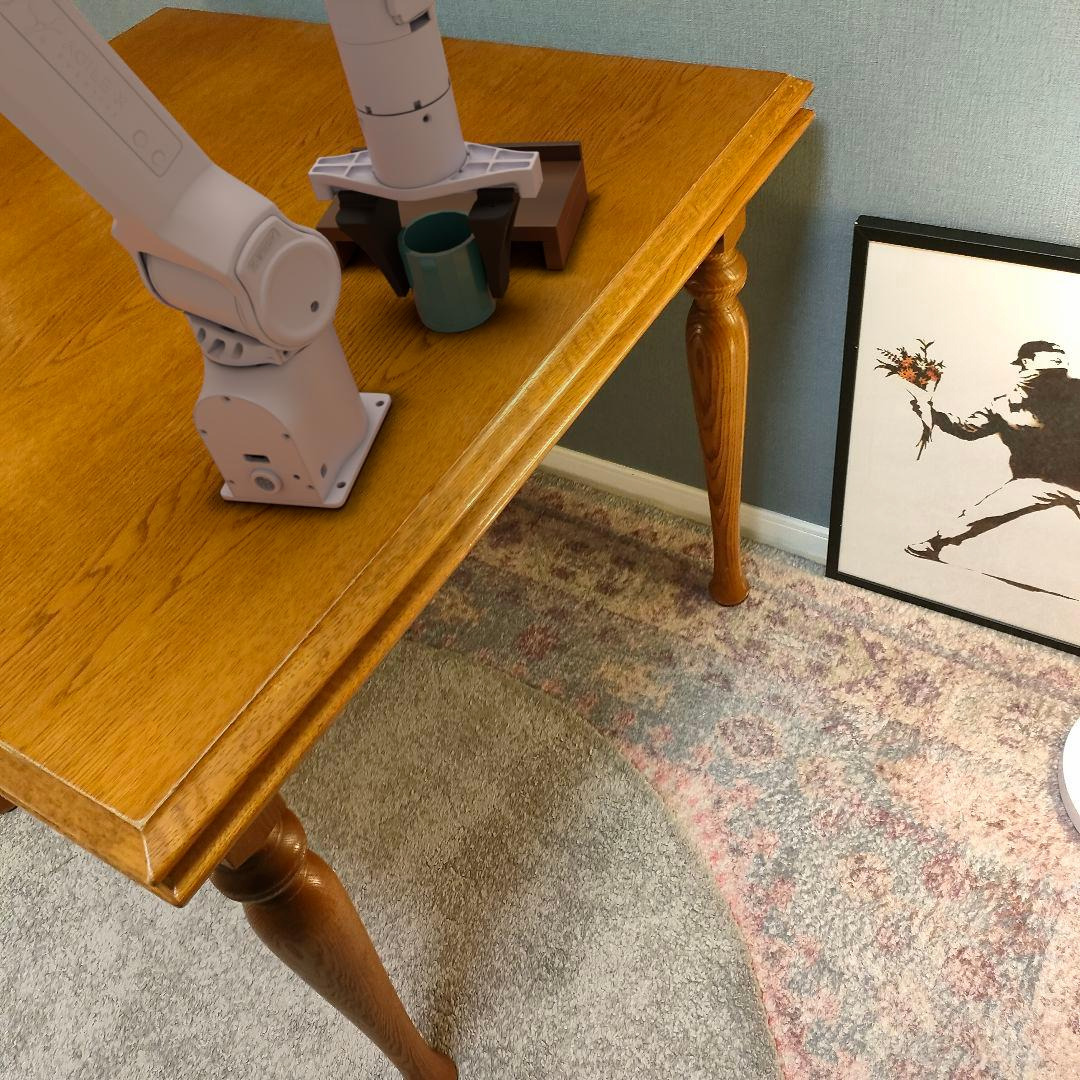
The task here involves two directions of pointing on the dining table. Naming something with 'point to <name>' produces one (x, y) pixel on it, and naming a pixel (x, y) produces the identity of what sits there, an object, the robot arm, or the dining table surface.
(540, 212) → the shelf
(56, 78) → the robot arm
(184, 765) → the dining table surface
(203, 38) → the dining table surface
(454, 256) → the cup
